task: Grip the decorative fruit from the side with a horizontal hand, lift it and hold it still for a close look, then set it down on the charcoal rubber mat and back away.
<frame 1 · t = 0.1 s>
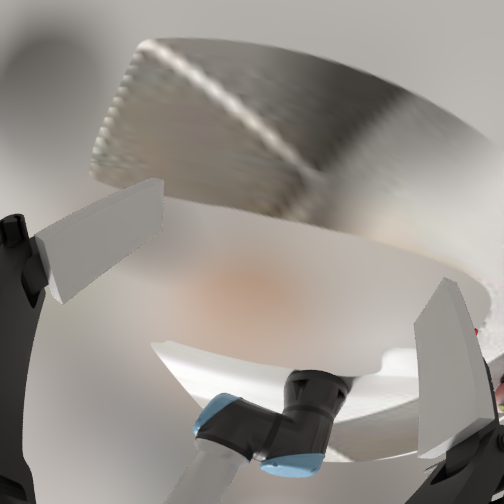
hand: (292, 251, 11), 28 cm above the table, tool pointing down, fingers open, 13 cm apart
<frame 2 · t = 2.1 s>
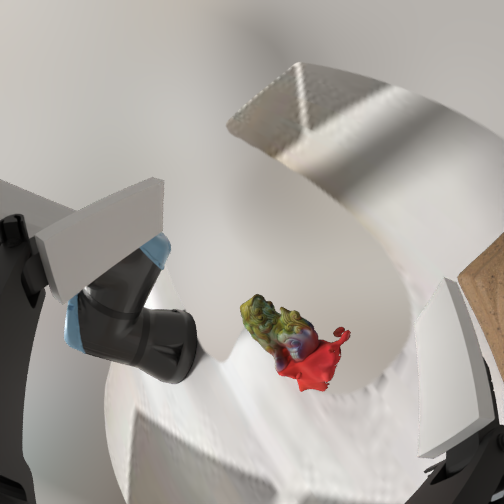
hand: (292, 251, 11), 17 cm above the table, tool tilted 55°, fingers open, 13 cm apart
figurine: (321, 355, 27), on the table
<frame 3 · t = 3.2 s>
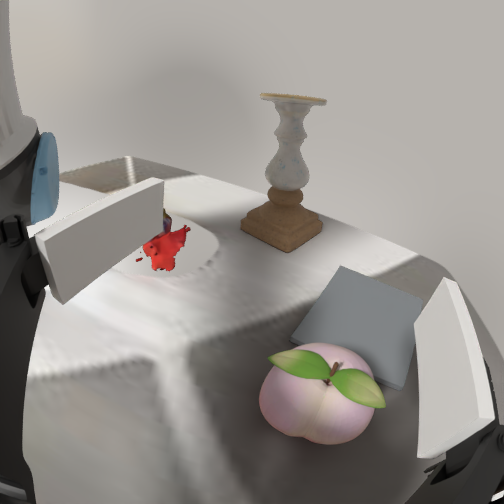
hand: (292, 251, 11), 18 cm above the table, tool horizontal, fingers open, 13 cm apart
mat: (366, 321, 31), on the table
candle holder: (281, 230, 50), on the table
figurine: (159, 262, 40), on the table
decorative fruit: (306, 415, 22), on the table
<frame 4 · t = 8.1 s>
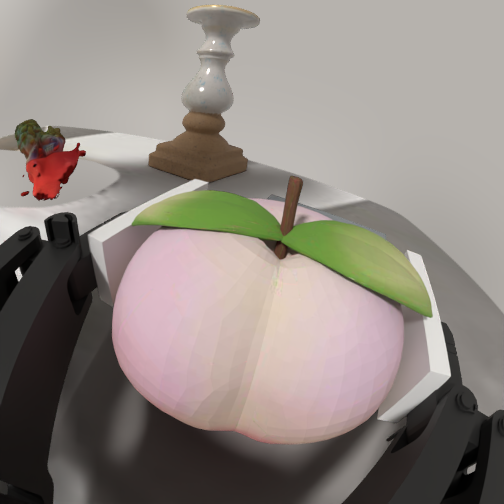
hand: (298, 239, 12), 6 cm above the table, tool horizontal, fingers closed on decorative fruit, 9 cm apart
mat: (316, 251, 24), on the table
candle holder: (197, 168, 39), on the table
figurine: (46, 195, 25), on the table
decorative fruit: (239, 390, 12), on the table, touching gripper
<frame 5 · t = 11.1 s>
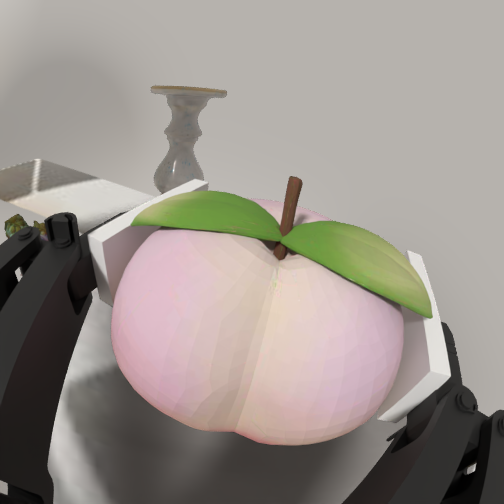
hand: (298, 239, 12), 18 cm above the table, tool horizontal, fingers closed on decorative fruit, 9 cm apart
candle holder: (175, 242, 43), on the table
figurine: (43, 284, 29), on the table
decorative fruit: (238, 390, 12), point 12 cm above the table, touching gripper
when the fingers open (8 cm above the table, at t = 14.1 s): decorative fruit drops 1 cm, resting on mat.
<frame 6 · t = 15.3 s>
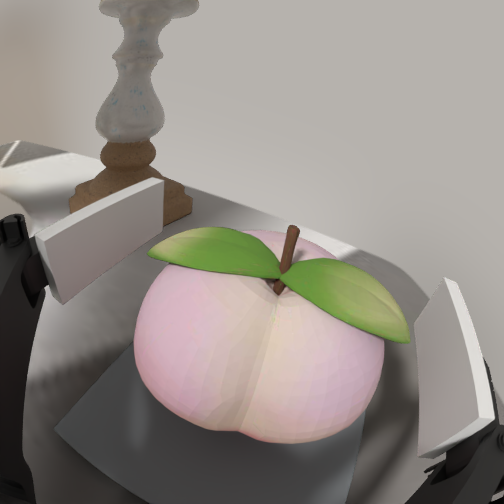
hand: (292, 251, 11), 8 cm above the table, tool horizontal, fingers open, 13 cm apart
mat: (243, 397, 13), on the table
candle holder: (128, 213, 29), on the table
decorative fruit: (241, 392, 13), point 1 cm above the table, touching mat
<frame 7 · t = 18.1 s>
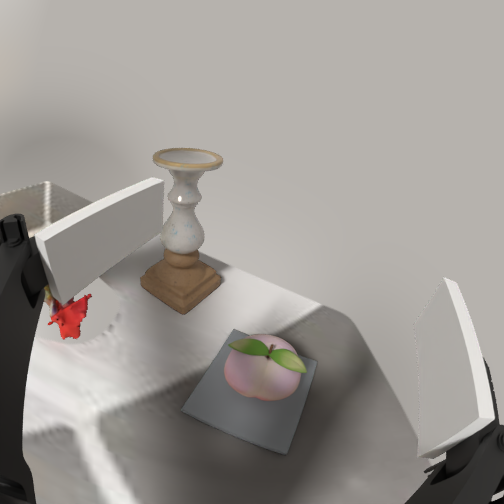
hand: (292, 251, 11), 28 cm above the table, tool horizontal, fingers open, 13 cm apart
mat: (255, 388, 34), on the table
candle holder: (180, 285, 49), on the table
figurine: (68, 326, 35), on the table
decorative fruit: (255, 386, 33), point 1 cm above the table, touching mat
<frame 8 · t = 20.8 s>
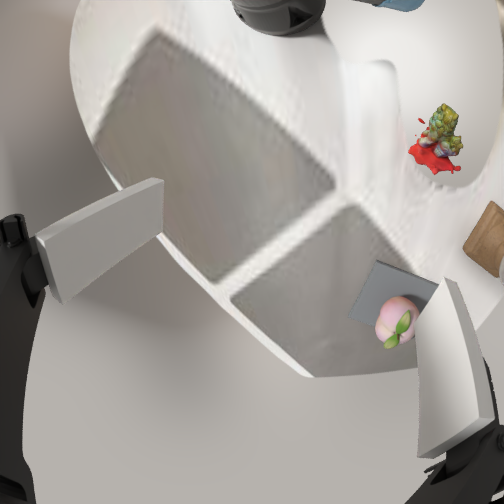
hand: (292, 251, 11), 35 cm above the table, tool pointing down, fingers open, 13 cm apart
mat: (396, 302, 47), on the table
candle holder: (493, 238, 34), on the table
figurine: (427, 141, 33), on the table
decorative fruit: (397, 303, 47), point 1 cm above the table, touching mat
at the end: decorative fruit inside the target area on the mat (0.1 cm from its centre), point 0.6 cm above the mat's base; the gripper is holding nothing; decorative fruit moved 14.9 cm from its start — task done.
